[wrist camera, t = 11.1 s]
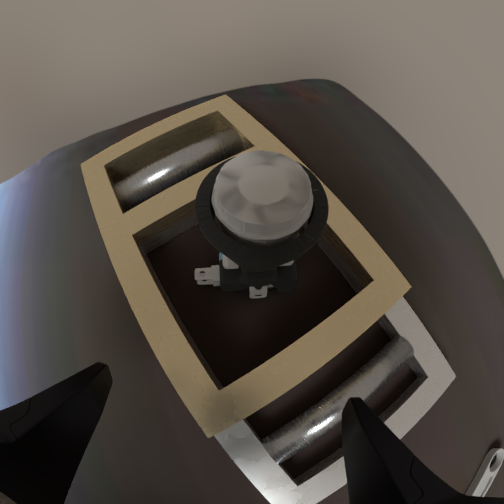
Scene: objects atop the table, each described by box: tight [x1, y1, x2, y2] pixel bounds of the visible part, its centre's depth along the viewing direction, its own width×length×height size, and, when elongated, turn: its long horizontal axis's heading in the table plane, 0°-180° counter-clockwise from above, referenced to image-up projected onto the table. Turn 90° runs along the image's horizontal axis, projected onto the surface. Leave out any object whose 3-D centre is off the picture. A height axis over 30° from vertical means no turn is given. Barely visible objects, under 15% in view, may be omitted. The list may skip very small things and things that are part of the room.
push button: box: [195, 150, 329, 298], centre depth 14 cm, size 7×5×10 cm
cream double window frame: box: [81, 95, 456, 504], centre depth 18 cm, size 15×31×3 cm, turn 34°
